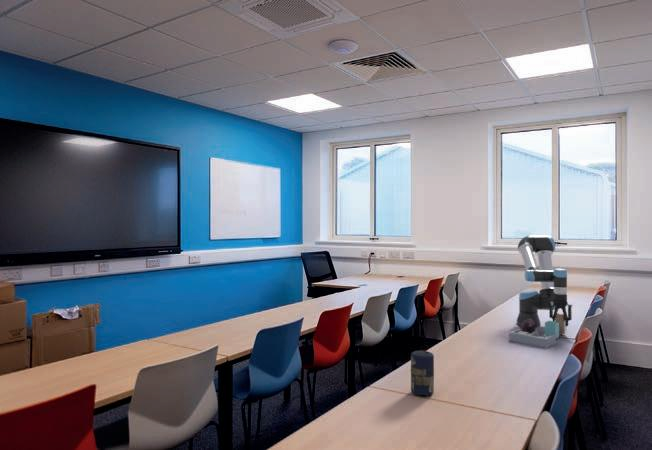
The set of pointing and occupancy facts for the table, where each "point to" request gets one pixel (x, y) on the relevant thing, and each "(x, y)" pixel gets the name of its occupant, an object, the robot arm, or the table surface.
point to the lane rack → (532, 339)
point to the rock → (528, 326)
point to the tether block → (555, 326)
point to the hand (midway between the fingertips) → (560, 330)
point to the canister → (422, 372)
